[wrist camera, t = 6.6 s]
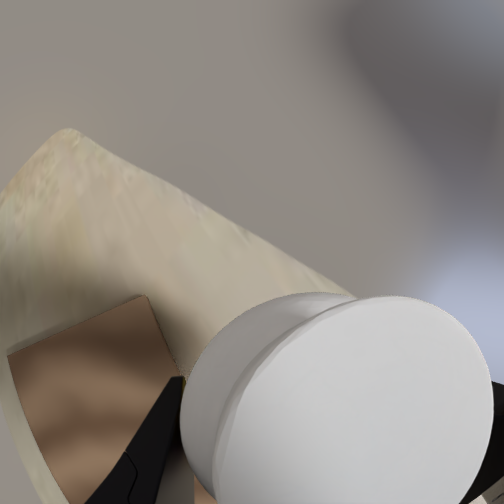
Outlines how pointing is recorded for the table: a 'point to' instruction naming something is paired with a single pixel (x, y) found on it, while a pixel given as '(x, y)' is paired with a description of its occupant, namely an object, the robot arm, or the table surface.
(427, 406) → the supplement bottle
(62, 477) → the walnut board
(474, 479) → the robot arm
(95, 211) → the table surface
